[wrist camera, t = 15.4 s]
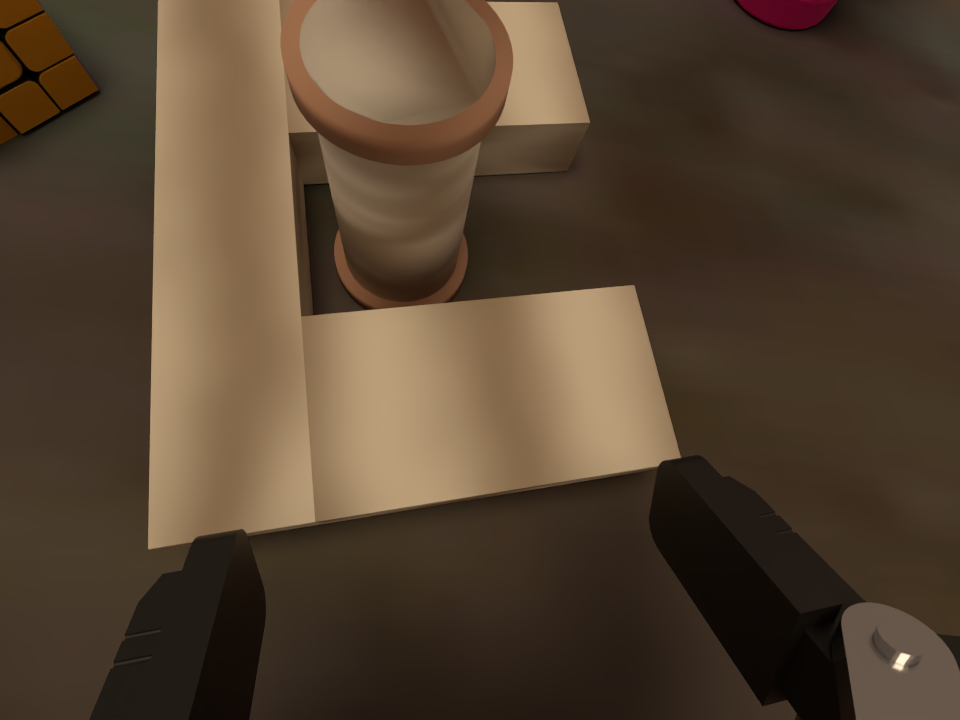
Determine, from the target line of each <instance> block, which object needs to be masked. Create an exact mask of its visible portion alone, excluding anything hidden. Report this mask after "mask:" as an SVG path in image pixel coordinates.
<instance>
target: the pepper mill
mask: <svg viewBox="0 0 960 720" xmlns="http://www.w3.org/2000/svg"><path fill="white" fill-rule="evenodd" d="M736 1H737V2H738V3H739V5H740V6H741V7H742V8H743V9H745V10H746V11H747V12H748V13H750V14H751V15H752V16H753V17H755V18H757V19H758V20H760V21H762V22H764V23H766V24H769V25H771V26H774V27H777V28H782V29H789V30H798V29H805V28H808V27H811V26H814V25H816V24H817V23H819V22H820V21H821V20H822V19H823V18H824V17H825V16H826V15H827V14H828V12H829V11H830V10H831V9H832V7H833V6H834V5H835V4H836V3H837V1H838V0H736Z"/></svg>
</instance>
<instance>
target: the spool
mask: <svg viewBox="0 0 960 720" xmlns="http://www.w3.org/2000/svg"><path fill="white" fill-rule="evenodd" d="M280 47H281V54H282V60H283V63H284V67H285V71H286V75H287V79H288V83H289V86H290V90H291V93H292V96H293V99H294V101H295V103H296V105H297V107H298V109H299V111H300V112H301V114H302V115H303V116H304V118H305V119H306V121H307V122H308V123H309V124H310V125H311V126H312V127H313V128H314V129H315V130H316V131H317V132H318V136H319V140H320V145H321V149H322V154H323V158H324V163H325V168H326V172H327V177H328V181H329V186H330V190H331V195H332V199H333V204H334V209H335V213H336V218H337V222H338V227H339V230H338V232H337V236H336V239H335V245H334V257H335V263H336V267H337V271H338V274H339V277H340V281H341V283H342V285H343V287H344V288H345V290H346V291H347V293H348V294H349V295H350V297H351V298H352V299H353V300H354V301H355V302H356V303H358V304H359V305H360V306H361V307H363V308H364V309H366V310H376V309H386V308H397V307H408V306H418V305H429V304H439V303H449V302H450V301H451V300H452V299H453V297H454V296H455V295H456V293H457V292H458V290H459V288H460V287H461V285H462V282H463V279H464V275H465V271H466V267H467V262H468V248H467V243H466V239H465V236H464V234H463V230H464V225H465V220H466V215H467V210H468V204H469V199H470V194H471V189H472V184H473V179H474V174H475V169H476V164H477V159H478V154H479V149H480V144H481V141H482V140H483V139H484V138H485V137H486V136H487V135H488V134H489V133H490V132H491V130H492V129H493V128H494V127H495V125H496V124H497V122H498V120H499V118H500V117H501V114H502V111H503V109H504V106H505V102H506V98H507V94H508V89H509V85H510V81H511V76H512V71H513V51H512V45H511V42H510V38H509V35H508V33H507V31H506V29H505V26H504V24H503V23H502V21H501V20H500V18H499V16H498V15H497V13H496V12H495V11H494V10H493V9H492V8H491V6H490V5H489V4H488V3H487V2H486V1H485V0H294V2H293V3H292V5H291V6H290V8H289V10H288V11H287V14H286V16H285V19H284V21H283V25H282V30H281V38H280Z"/></svg>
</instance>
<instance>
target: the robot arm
mask: <svg viewBox="0 0 960 720" xmlns="http://www.w3.org/2000/svg"><path fill="white" fill-rule="evenodd" d="M649 523H650V530H651V534H652V537H653V539H654V542H655V544H656V546H657V548H658V549H659V551H660V552H661V554H662V555H663V557H664V558H665V560H666V561H667V563H668V564H669V566H670V567H671V569H672V570H673V572H674V573H675V575H676V576H677V578H678V579H679V581H680V582H681V584H682V585H683V587H684V588H685V590H686V591H687V593H688V594H689V596H690V597H691V599H692V600H693V602H694V603H695V605H696V606H697V608H698V609H699V611H700V612H701V614H702V615H703V617H704V618H705V620H706V621H707V623H708V625H709V626H710V628H711V629H712V631H713V632H714V634H715V635H716V637H717V638H718V640H719V641H720V643H721V644H722V646H723V647H724V649H725V650H726V652H727V653H728V655H729V656H730V658H731V659H732V661H733V662H734V664H735V665H736V667H737V668H738V670H739V671H740V673H741V674H742V676H743V677H744V679H745V680H746V682H747V683H748V685H749V686H750V688H751V689H752V691H753V692H754V694H755V695H756V697H757V698H758V700H759V701H760V703H761V704H762V706H766V705H770V704H773V703H777V702H781V701H785V700H788V702H789V703H790V704H791V706H792V707H793V709H794V710H795V711H796V713H797V714H796V717H795V720H960V636H950V635H940V634H935V633H934V632H933V631H932V630H931V629H930V628H928V627H927V626H926V625H924V624H923V623H922V622H920V621H919V620H917V619H915V618H914V617H912V616H910V615H908V614H907V613H904V612H902V611H900V610H898V609H895V608H892V607H890V606H886V605H882V604H878V603H867V602H866V601H864V600H863V599H862V598H861V597H860V596H859V595H858V594H857V593H856V592H855V591H854V590H853V589H852V588H851V587H850V586H849V585H848V584H847V583H846V582H845V581H844V580H843V579H842V578H841V577H840V576H839V575H838V574H837V573H836V572H835V571H834V570H833V569H832V568H831V567H830V566H829V565H828V564H827V563H826V562H825V561H824V560H823V559H822V558H821V557H820V556H819V555H818V554H817V553H816V552H815V551H814V550H813V549H812V548H811V547H810V546H809V545H808V544H807V543H806V542H805V541H804V540H803V539H802V538H801V537H800V536H799V535H798V534H797V533H793V532H792V528H791V527H790V526H789V525H788V524H787V523H786V522H785V521H784V520H783V519H782V518H781V517H780V516H776V514H775V511H774V510H773V509H772V508H771V507H770V506H769V505H768V504H767V503H766V502H765V501H764V500H763V499H762V498H761V497H760V496H759V495H758V494H757V493H756V492H755V491H753V490H752V489H750V488H748V487H747V486H745V485H743V484H741V483H740V482H738V481H736V480H735V479H733V478H731V477H730V476H727V477H722V476H721V475H720V474H719V473H718V472H717V471H716V470H715V469H714V468H713V467H712V466H711V465H710V464H709V462H708V461H707V460H706V459H704V458H703V457H701V456H699V455H695V456H688V457H682V458H676V459H670V460H664V461H662V462H661V463H660V464H659V466H658V470H657V475H656V481H655V487H654V492H653V498H652V504H651V510H650V516H649ZM265 617H266V601H265V592H264V587H263V583H262V580H261V577H260V574H259V571H258V568H257V564H256V561H255V558H254V555H253V552H252V548H251V545H250V542H249V539H248V536H247V534H246V532H245V531H244V530H243V529H239V530H233V531H227V532H221V533H215V534H209V535H202V536H198V537H196V538H195V539H194V540H193V542H192V544H191V547H190V550H189V553H188V555H187V558H186V561H185V564H184V567H183V570H182V571H177V572H171V573H165V574H162V576H161V577H160V578H159V579H158V580H157V581H156V583H155V584H154V585H153V586H152V587H151V588H150V590H149V591H148V592H147V593H146V594H145V596H144V597H143V598H142V599H141V600H140V601H139V603H138V605H137V607H136V609H135V612H134V614H133V617H132V619H131V621H130V624H129V626H128V629H127V631H126V633H125V641H122V643H121V645H120V648H119V650H118V652H117V655H116V657H115V660H114V667H113V669H110V672H109V674H108V676H107V679H106V681H105V684H104V686H103V688H102V691H101V693H100V696H99V698H98V700H97V703H96V705H95V707H94V710H93V712H92V715H91V717H90V719H89V720H249V717H250V711H251V705H252V699H253V693H254V686H255V680H256V674H257V668H258V662H259V656H260V650H261V644H262V638H263V632H264V626H265Z"/></svg>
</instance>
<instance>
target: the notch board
mask: <svg viewBox="0 0 960 720" xmlns="http://www.w3.org/2000/svg"><path fill="white" fill-rule="evenodd" d="M293 2H294V0H158V39H157V93H156V147H155V202H154V256H153V310H152V364H151V418H150V472H149V526H148V549H158V548H170V547H182V546H191V544H192V542H193V540H194V539H195V538H196V537H198V536H202V535H209V534H215V533H221V532H227V531H233V530H239V529H243V530H244V531H245V532H246V534H247V536H254V535H260V534H266V533H272V532H278V531H284V530H290V529H296V528H302V527H308V526H314V525H321V524H327V523H333V522H339V521H345V520H351V519H357V518H363V517H369V516H375V515H381V514H387V513H394V512H400V511H406V510H412V509H418V508H424V507H430V506H436V505H442V504H448V503H454V502H461V501H467V500H473V499H479V498H485V497H491V496H497V495H503V494H509V493H515V492H521V491H528V490H534V489H540V488H546V487H552V486H558V485H564V484H570V483H576V482H582V481H588V480H594V479H601V478H607V477H613V476H619V475H625V474H631V473H637V472H643V471H647V470H651V469H656V468H658V466H659V464H660V463H661V462H662V461H664V460H670V459H676V458H681V457H680V453H679V449H678V445H677V442H676V438H675V434H674V431H673V427H672V423H671V420H670V416H669V412H668V408H667V405H666V401H665V397H664V394H663V390H662V386H661V383H660V379H659V375H658V372H657V368H656V364H655V360H654V357H653V353H652V349H651V346H650V342H649V338H648V335H647V331H646V327H645V323H644V320H643V316H642V312H641V309H640V305H639V301H638V298H637V294H636V290H635V287H634V285H630V286H619V287H609V288H598V289H587V290H577V291H566V292H556V293H545V294H535V295H524V296H513V297H503V298H492V299H482V300H471V301H460V302H450V303H439V304H429V305H418V306H408V307H397V308H386V309H376V310H365V311H355V312H344V313H334V314H323V315H313V302H312V289H311V275H310V262H309V249H308V236H307V223H306V210H305V197H304V184H323V183H329V181H328V177H327V172H326V168H325V163H324V158H323V154H322V149H321V145H320V140H319V136H318V132H317V131H316V130H315V129H314V128H313V127H312V126H311V125H310V124H309V123H308V122H307V121H306V119H305V118H304V116H303V115H302V114H301V112H300V111H299V109H298V107H297V105H296V103H295V101H294V99H293V96H292V93H291V90H290V86H289V83H288V79H287V75H286V71H285V67H284V63H283V60H282V54H281V47H280V38H281V30H282V25H283V21H284V19H285V16H286V14H287V11H288V10H289V8H290V6H291V5H292V3H293ZM487 3H488V4H489V5H490V6H491V8H492V9H493V10H494V11H495V12H496V13H497V15H498V16H499V18H500V20H501V21H502V23H503V24H504V26H505V29H506V31H507V33H508V35H509V38H510V42H511V45H512V51H513V71H512V76H511V81H510V85H509V89H508V94H507V98H506V102H505V106H504V109H503V111H502V114H501V117H500V118H499V120H498V122H497V124H496V125H495V127H494V128H493V129H492V130H491V132H490V133H489V134H488V135H487V136H486V137H485V138H484V139H483V140H482V141H481V144H480V149H479V154H478V159H477V164H476V169H475V174H474V176H480V175H500V174H520V173H539V172H559V171H568V170H569V168H570V166H571V163H572V161H573V159H574V157H575V155H576V152H577V150H578V148H579V146H580V144H581V142H582V139H583V137H584V135H585V133H586V131H587V128H588V126H589V124H590V120H589V116H588V113H587V109H586V105H585V102H584V98H583V94H582V91H581V87H580V83H579V80H578V76H577V72H576V68H575V65H574V61H573V57H572V54H571V50H570V46H569V43H568V39H567V35H566V31H565V28H564V24H563V20H562V17H561V13H560V9H559V6H558V3H542V2H487Z"/></svg>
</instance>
